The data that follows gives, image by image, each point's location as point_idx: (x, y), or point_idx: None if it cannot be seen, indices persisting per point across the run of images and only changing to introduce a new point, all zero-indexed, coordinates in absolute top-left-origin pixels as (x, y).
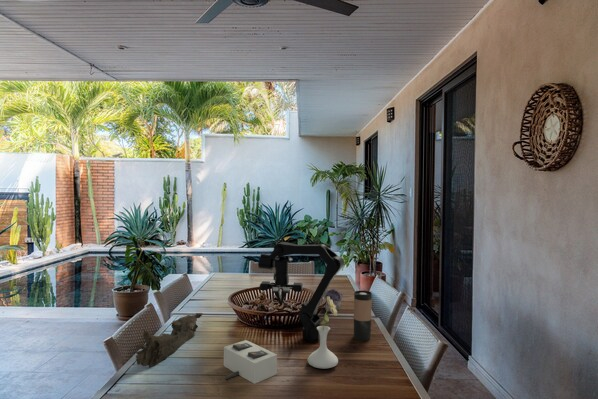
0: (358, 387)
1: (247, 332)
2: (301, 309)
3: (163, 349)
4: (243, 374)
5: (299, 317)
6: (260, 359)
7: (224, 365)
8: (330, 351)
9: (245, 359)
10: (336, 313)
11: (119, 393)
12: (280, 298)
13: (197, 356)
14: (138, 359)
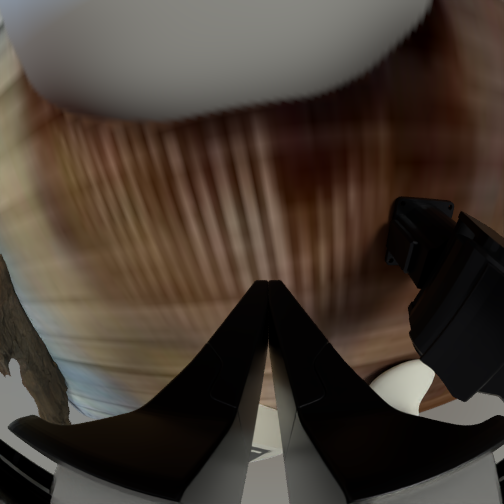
0: (422, 406)
1: (95, 188)
2: (440, 374)
3: (57, 395)
4: None
5: (411, 325)
6: (259, 458)
7: None
8: (424, 394)
9: None
10: None
11: (97, 419)
12: (257, 379)
13: (89, 362)
14: (67, 416)
